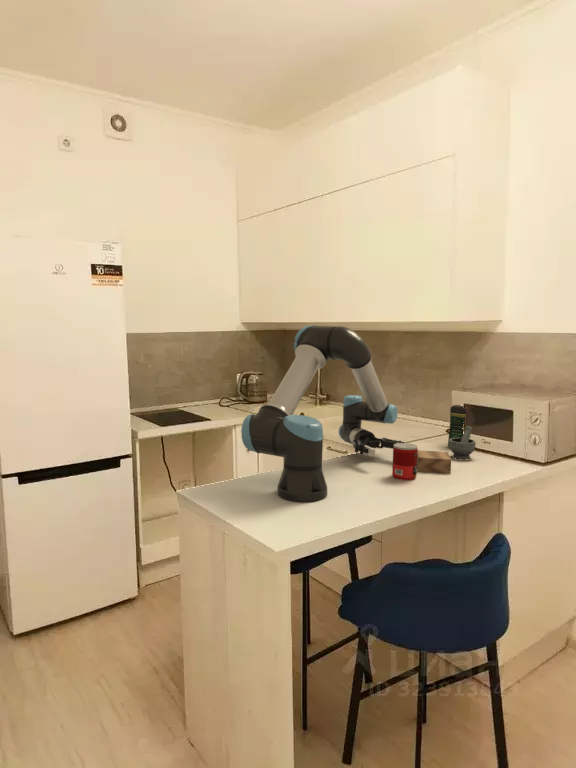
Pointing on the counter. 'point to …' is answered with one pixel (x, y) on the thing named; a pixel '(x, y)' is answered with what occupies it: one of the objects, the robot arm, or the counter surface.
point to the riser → (433, 461)
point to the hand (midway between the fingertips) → (391, 452)
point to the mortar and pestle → (462, 445)
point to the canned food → (404, 461)
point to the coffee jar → (456, 421)
